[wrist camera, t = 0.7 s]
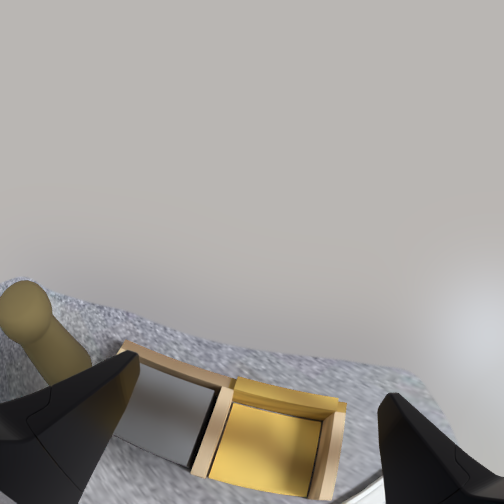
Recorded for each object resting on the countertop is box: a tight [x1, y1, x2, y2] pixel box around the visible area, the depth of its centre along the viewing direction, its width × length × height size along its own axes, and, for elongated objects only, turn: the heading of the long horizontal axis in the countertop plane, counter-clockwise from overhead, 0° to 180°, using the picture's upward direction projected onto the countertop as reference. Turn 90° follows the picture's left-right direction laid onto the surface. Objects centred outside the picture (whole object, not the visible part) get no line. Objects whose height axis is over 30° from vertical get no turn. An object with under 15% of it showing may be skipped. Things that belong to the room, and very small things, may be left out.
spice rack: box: [113, 340, 347, 500], centre depth 19 cm, size 9×20×4 cm, turn 76°
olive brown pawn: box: [0, 280, 92, 386], centre depth 18 cm, size 6×6×11 cm
